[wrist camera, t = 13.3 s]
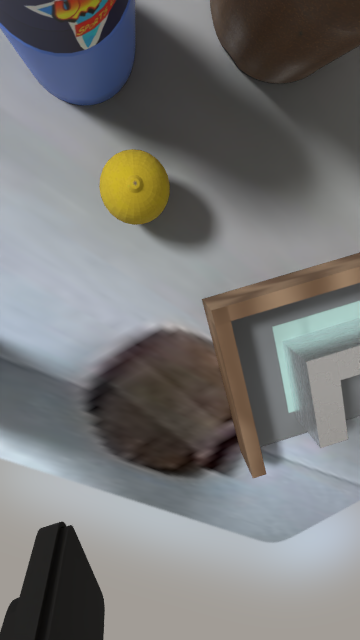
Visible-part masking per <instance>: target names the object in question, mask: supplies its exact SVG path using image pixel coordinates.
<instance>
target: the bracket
mask: <svg viewBox="0 0 360 640" xmlns="http://www.w3.org/2000/svg"><path fill="white" fill-rule="evenodd" d="M282 345H283V350H284V356H285V361H286V367H287V372H288V377H289V383H290V388H291V394H292V399H293V405H294V410H295V416H296V418H297V420H298V421H299V422H300V423H301V425H302V426H303V427H304V428H305V430H306V431H307V432H308V433H309V435H310V436H311V437H312V438H313V440H314V441H315V442H316V443H317V445H318V446H319V447H320V448H322V447H326V446H329V445H332V444H335V443H338V442H341V441H344V440H348V435H347V427H346V419H345V411H344V404H343V396H342V388H341V380H343V379H346V378H350V377H353V376H356V375H359V374H360V318H357V319H354V320H351V321H347V322H344V323H341V324H338V325H334V326H331V327H328V328H324V329H321V330H318V331H314V332H311V333H308V334H304V335H301V336H298V337H295V338H291V339H288V340H285V341H282Z"/></svg>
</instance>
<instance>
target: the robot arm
mask: <svg viewBox="0 0 360 640" xmlns="http://www.w3.org/2000/svg"><path fill="white" fill-rule="evenodd" d="M104 611H105V610H104V599H103V595H102V592H101V590H100V587H99V585H98V583H97V581H96V578H95V576H94V574H93V571H92V569H91V567H90V564H89V562H88V560H87V558H86V555H85V553H84V551H83V548H82V546H81V544H80V542H79V540H78V537H77V535H76V532H75V530H74V528H73V526H71V525H70V526H66V525H65V523H64V522H59V523H56V524H53V525H50V526H46V527H43V528H41V529H39V531H38V533H37V536H36V539H35V543H34V547H33V550H32V554H31V558H30V561H29V565H28V569H27V572H26V576H25V579H24V583H23V587H22V590H21V594H20V597H19V598H17V599H15V600H13V601H12V602H11V604H10V606H9V607H8V610H7V612H6V615H5V618H4V622H3V626H2V628H1V632H0V640H103V633H104Z"/></svg>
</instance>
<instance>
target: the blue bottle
mask: <svg viewBox="0 0 360 640" xmlns="http://www.w3.org/2000/svg"><path fill="white" fill-rule="evenodd" d="M0 28H1V30H2V31H3V33H4V34H5V35H6V37H7V38H8V40H9V41H10V43H11V44H12V45H13V47H14V48H15V50H16V51H17V52H18V54H19V55H20V57H21V58H22V59H23V61H24V62H25V64H26V65H27V67H28V68H29V69H30V71H31V72H32V74H33V75H34V76H35V78H36V79H37V80H38V82H39V83H40V84H41V85H42V86H43V87H44V88H45V89H46V90H47V91H48V92H50V93H51V94H53V95H54V96H56V97H57V98H59V99H61V100H63V101H66V102H68V103H71V104H76V105H94V104H98V103H102V102H104V101H106V100H108V99H110V98H111V97H113V96H114V95H115V94H116V93H117V92H119V91H120V89H121V88H122V87H123V85H124V84H125V83H126V81H127V79H128V77H129V75H130V73H131V70H132V67H133V63H134V57H135V0H0Z"/></svg>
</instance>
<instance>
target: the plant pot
mask: <svg viewBox="0 0 360 640" xmlns="http://www.w3.org/2000/svg"><path fill="white" fill-rule="evenodd" d="M210 6H211V14H212V19H213V24H214V28H215V31H216V34H217V37H218V39H219V41H220V43H221V45H222V46H223V47H224V48H225V49H226V50H227V51H228V53H229V54H230V56H231V57H232V59H233V60H234V61H235V63H236V65H237V67H238V68H239V69H241V70H242V71H243V72H244V73H246V74H247V75H249V76H251V77H253V78H255V79H258V80H261V81H264V82H268V83H277V84H278V83H289V82H294V81H297V80H300V79H303V78H305V77H307V76H309V75H311V74H312V73H314V72H315V71H317V70H318V69H320V68H321V67H323V66H325V65H327V64H328V63H330V62H332V61H333V60H335V59H337V58H339V57H340V56H342V55H344V54H346V53H347V52H349V51H351V50H352V49H354V48H356V47H357V46H359V45H360V0H210Z"/></svg>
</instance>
